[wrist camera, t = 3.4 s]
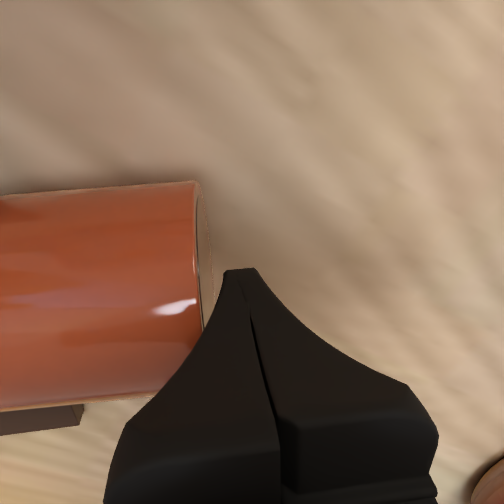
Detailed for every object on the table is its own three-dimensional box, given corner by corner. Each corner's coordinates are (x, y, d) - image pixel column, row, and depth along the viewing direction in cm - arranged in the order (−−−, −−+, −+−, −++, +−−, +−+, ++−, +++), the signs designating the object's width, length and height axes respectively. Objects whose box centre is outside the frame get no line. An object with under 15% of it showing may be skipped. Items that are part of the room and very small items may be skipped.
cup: (53, 314, 18) (-28, 465, 12) (-7, 167, 14) (-170, 276, 8) (217, 299, 18) (218, 437, 12) (199, 152, 14) (189, 246, 8)
